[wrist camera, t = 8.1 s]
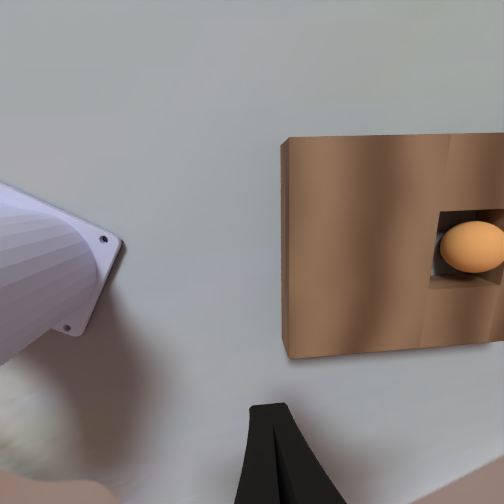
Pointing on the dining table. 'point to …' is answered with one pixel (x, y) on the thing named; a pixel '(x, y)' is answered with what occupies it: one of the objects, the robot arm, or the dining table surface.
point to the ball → (473, 246)
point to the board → (385, 242)
